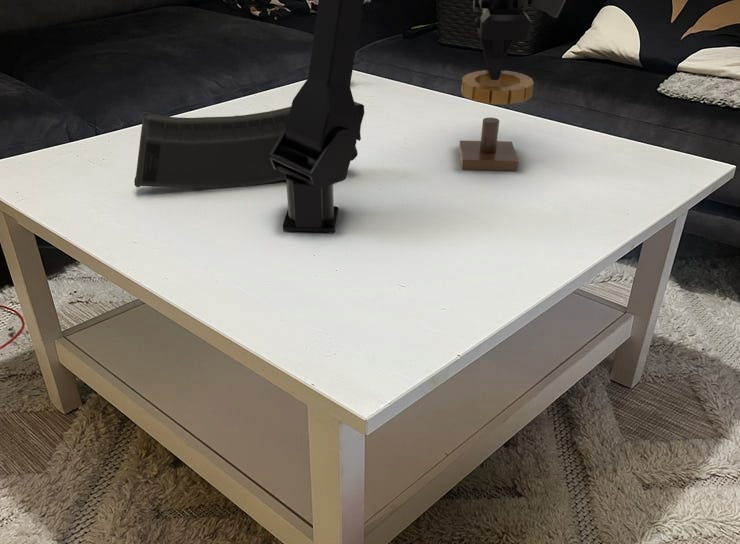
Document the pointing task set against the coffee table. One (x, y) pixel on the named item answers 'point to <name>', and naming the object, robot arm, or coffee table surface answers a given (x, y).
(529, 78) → the ring
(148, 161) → the magazine
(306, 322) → the coffee table surface
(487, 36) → the robot arm
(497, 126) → the post
